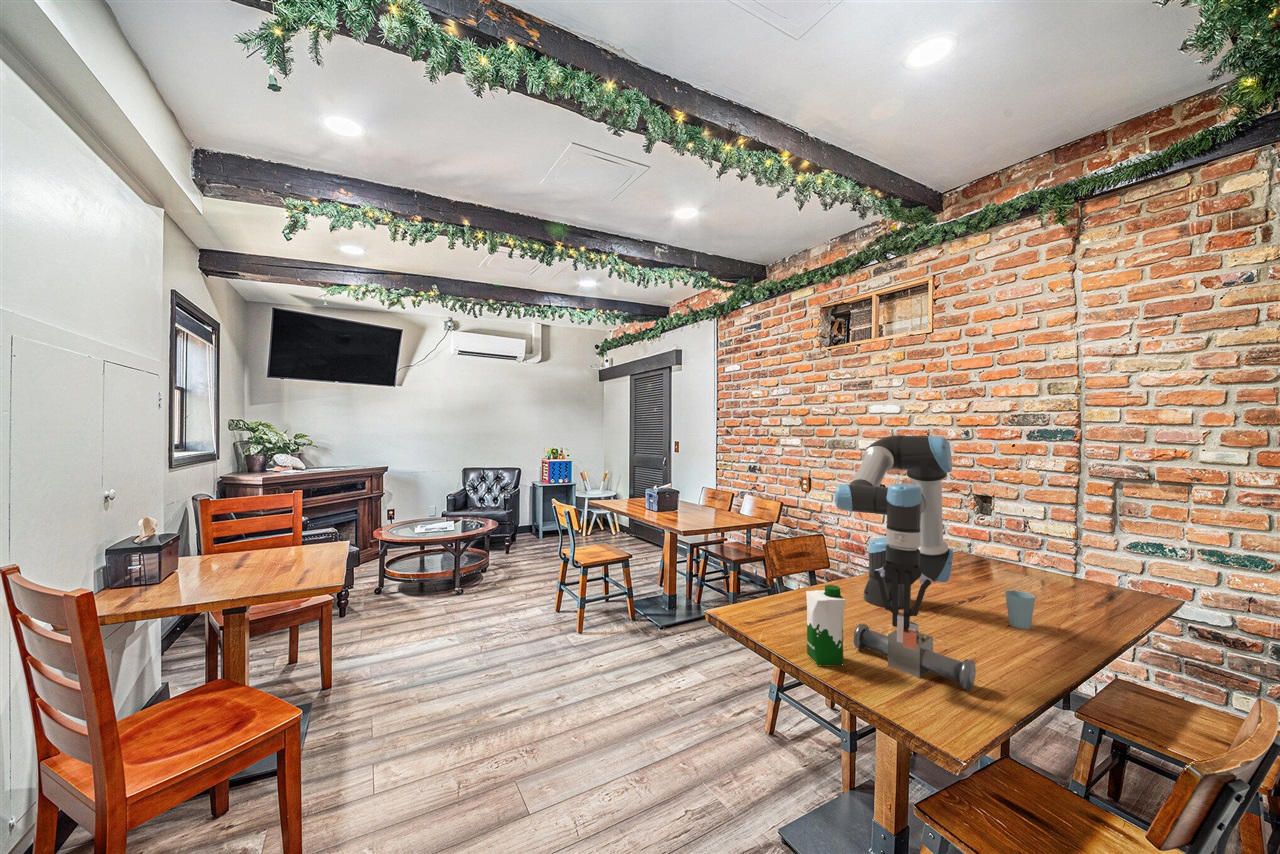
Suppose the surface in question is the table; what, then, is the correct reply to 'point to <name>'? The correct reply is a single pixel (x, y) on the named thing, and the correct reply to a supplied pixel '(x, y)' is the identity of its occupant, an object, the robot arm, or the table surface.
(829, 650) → the milk carton
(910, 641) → the lever
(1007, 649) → the table surface
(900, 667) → the valve body
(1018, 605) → the cup
